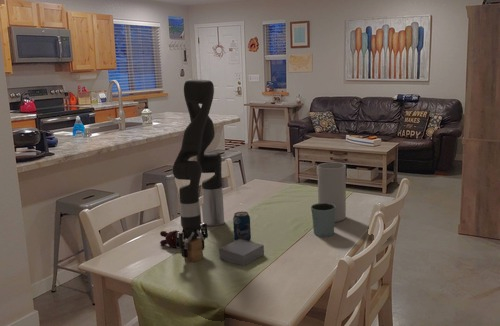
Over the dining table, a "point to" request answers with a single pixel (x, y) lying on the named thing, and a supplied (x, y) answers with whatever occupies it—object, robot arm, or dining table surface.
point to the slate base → (241, 251)
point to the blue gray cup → (323, 219)
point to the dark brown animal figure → (169, 238)
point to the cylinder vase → (333, 187)
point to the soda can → (242, 226)
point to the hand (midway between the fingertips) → (193, 253)
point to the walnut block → (194, 250)
